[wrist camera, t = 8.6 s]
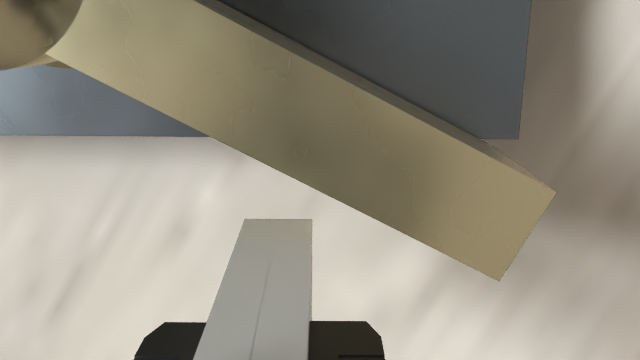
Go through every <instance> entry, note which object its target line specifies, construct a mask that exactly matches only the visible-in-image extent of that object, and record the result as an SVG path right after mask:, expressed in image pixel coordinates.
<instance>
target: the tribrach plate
mask: <svg viewBox="0 0 640 360" xmlns="http://www.w3.org/2000/svg"><path fill="white" fill-rule="evenodd" d="M218 1H220V2H221V3H223V4H225V5H227V6H229V7H231V8H233V9H235V10H237V11H238V12H240V13H242V14H244V15H246V16H248V17H250V18H252V19H253V20H255V21H257V22H259V23H261V24H263V25H265V26H267V27H269V28H270V29H272V30H274V31H276V32H278V33H280V34H282V35H284V36H286V37H287V38H289V39H291V40H293V41H295V42H297V43H299V44H301V45H302V46H304V47H306V48H308V49H310V50H312V51H314V52H316V53H318V54H319V55H321V56H323V57H325V58H327V59H329V60H331V61H333V62H334V63H336V64H338V65H340V66H342V67H344V68H346V69H348V70H350V71H351V72H353V73H355V74H357V75H359V76H361V77H363V78H365V79H367V80H368V81H370V82H372V83H374V84H376V85H378V86H380V87H382V88H383V89H385V90H387V91H389V92H391V93H393V94H395V95H397V96H399V97H400V98H402V99H404V100H406V101H408V102H410V103H412V104H414V105H415V106H417V107H419V108H421V109H423V110H425V111H427V112H429V113H431V114H432V115H434V116H436V117H438V118H440V119H442V120H444V121H446V122H448V123H449V124H451V125H453V126H455V127H457V128H459V129H461V130H463V131H464V132H466V133H468V134H470V135H472V136H474V137H476V138H478V139H518V137H519V127H520V116H521V105H522V95H523V84H524V73H525V63H526V52H527V42H528V31H529V20H530V10H531V0H218ZM0 135H42V136H173V137H210V136H208V135H206V134H204V133H202V132H200V131H198V130H196V129H194V128H192V127H190V126H188V125H186V124H184V123H182V122H180V121H178V120H176V119H174V118H172V117H170V116H168V115H166V114H164V113H162V112H160V111H158V110H156V109H154V108H152V107H150V106H148V105H146V104H144V103H142V102H140V101H138V100H136V99H134V98H132V97H130V96H128V95H126V94H124V93H122V92H120V91H119V90H117V89H115V88H113V87H111V86H109V85H107V84H105V83H103V82H101V81H99V80H97V79H95V78H93V77H91V76H89V75H87V74H85V73H83V72H81V71H79V70H77V69H75V68H57V67H50V66H46V65H42V64H41V65H35V66H28V67H21V68H15V69H8V70H0Z"/></svg>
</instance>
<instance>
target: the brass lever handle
mask: <svg viewBox="0 0 640 360" xmlns="http://www.w3.org/2000/svg"><path fill="white" fill-rule="evenodd" d="M41 64H42V65H46V66H50V67H57V68H75V69H77V70H79V71H81V72H83V73H85V74H87V75H89V76H91V77H93V78H95V79H97V80H99V81H101V82H103V83H105V84H107V85H109V86H111V87H113V88H115V89H117V90H119V91H120V92H122V93H124V94H126V95H128V96H130V97H132V98H134V99H136V100H138V101H140V102H142V103H144V104H146V105H148V106H150V107H152V108H154V109H156V110H158V111H160V112H162V113H164V114H166V115H168V116H170V117H172V118H174V119H176V120H178V121H180V122H182V123H184V124H186V125H188V126H190V127H192V128H194V129H196V130H198V131H200V132H202V133H204V134H206V135H208V136H210V137H212V138H214V139H216V140H218V141H220V142H222V143H224V144H226V145H228V146H230V147H232V148H234V149H236V150H238V151H240V152H242V153H244V154H246V155H248V156H250V157H252V158H254V159H256V160H258V161H260V162H262V163H264V164H266V165H268V166H270V167H272V168H274V169H276V170H278V171H280V172H282V173H284V174H286V175H288V176H290V177H292V178H294V179H296V180H298V181H300V182H302V183H304V184H306V185H308V186H310V187H312V188H314V189H316V190H318V191H320V192H322V193H324V194H326V195H328V196H330V197H332V198H334V199H336V200H338V201H340V202H342V203H344V204H346V205H348V206H350V207H352V208H354V209H356V210H358V211H360V212H362V213H364V214H366V215H368V216H370V217H372V218H374V219H376V220H378V221H380V222H382V223H384V224H386V225H388V226H390V227H392V228H394V229H396V230H398V231H400V232H402V233H404V234H406V235H408V236H410V237H412V238H414V239H416V240H418V241H420V242H422V243H424V244H426V245H428V246H430V247H432V248H434V249H436V250H438V251H440V252H442V253H444V254H446V255H448V256H450V257H452V258H454V259H456V260H458V261H460V262H462V263H464V264H466V265H468V266H470V267H472V268H474V269H476V270H478V271H480V272H482V273H484V274H486V275H488V276H490V277H492V278H494V279H496V280H498V281H500V279H501V278H502V276H503V275H504V273H505V271H506V270H507V268H508V267H509V265H510V264H511V262H512V261H513V259H514V258H515V256H516V254H517V253H518V251H519V250H520V248H521V247H522V245H523V244H524V242H525V241H526V239H527V237H528V236H529V234H530V233H531V231H532V230H533V228H534V227H535V225H536V224H537V222H538V220H539V219H540V217H541V216H542V214H543V213H544V211H545V210H546V208H547V207H548V205H549V204H550V202H551V200H552V199H553V197H554V196H555V194H556V193H557V192H556V191H554V190H553V189H552V188H550V187H549V186H547V185H546V184H545V183H543V182H542V181H541V180H539V179H538V178H536V177H535V176H534V175H532V174H531V173H529V172H528V171H527V170H525V169H524V168H523V167H521V166H520V165H518V164H517V163H516V162H514V161H513V160H511V159H510V158H509V157H507V156H506V155H505V154H503V153H502V152H500V151H499V150H498V149H496V148H495V147H493V146H491V145H489V144H487V143H485V142H483V141H481V140H480V139H478V138H476V137H474V136H472V135H470V134H468V133H466V132H464V131H463V130H461V129H459V128H457V127H455V126H453V125H451V124H449V123H448V122H446V121H444V120H442V119H440V118H438V117H436V116H434V115H432V114H431V113H429V112H427V111H425V110H423V109H421V108H419V107H417V106H415V105H414V104H412V103H410V102H408V101H406V100H404V99H402V98H400V97H399V96H397V95H395V94H393V93H391V92H389V91H387V90H385V89H383V88H382V87H380V86H378V85H376V84H374V83H372V82H370V81H368V80H367V79H365V78H363V77H361V76H359V75H357V74H355V73H353V72H351V71H350V70H348V69H346V68H344V67H342V66H340V65H338V64H336V63H334V62H333V61H331V60H329V59H327V58H325V57H323V56H321V55H319V54H318V53H316V52H314V51H312V50H310V49H308V48H306V47H304V46H302V45H301V44H299V43H297V42H295V41H293V40H291V39H289V38H287V37H286V36H284V35H282V34H280V33H278V32H276V31H274V30H272V29H270V28H269V27H267V26H265V25H263V24H261V23H259V22H257V21H255V20H253V19H252V18H250V17H248V16H246V15H244V14H242V13H240V12H238V11H237V10H235V9H233V8H231V7H229V6H227V5H225V4H223V3H221V2H220V1H218V0H0V70H8V69H15V68H21V67H28V66H35V65H41Z"/></svg>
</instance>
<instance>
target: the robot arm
mask: <svg viewBox="0 0 640 360" xmlns="http://www.w3.org/2000/svg"><path fill="white" fill-rule="evenodd" d="M134 360H385V359H384V350H383V345H382V340H381V336H380V335H379V334H378V333H377V332H376V331H375V330H374V329H373V328H372V327H371V326H370V325H369V324H368V323H367V322H366V321H312V219H245V220H244V223H243V225H242V228H241V231H240V233H239V236H238V239H237V242H236V244H235V247H234V250H233V252H232V255H231V258H230V261H229V263H228V266H227V269H226V271H225V274H224V277H223V280H222V282H221V285H220V288H219V290H218V293H217V296H216V299H215V301H214V304H213V307H212V309H211V312H210V315H209V318H208V320H207V323H197V322H165V323H163V324H162V325H161V326H159V327H158V328H157V329H155V330H154V331H153V332H151V333H150V334H149V335H147V336H146V337H145V338H144V340H143V342H142V343H141V345H140V347H139V349H138V351H137V353H136V354H135V358H134Z"/></svg>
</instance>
